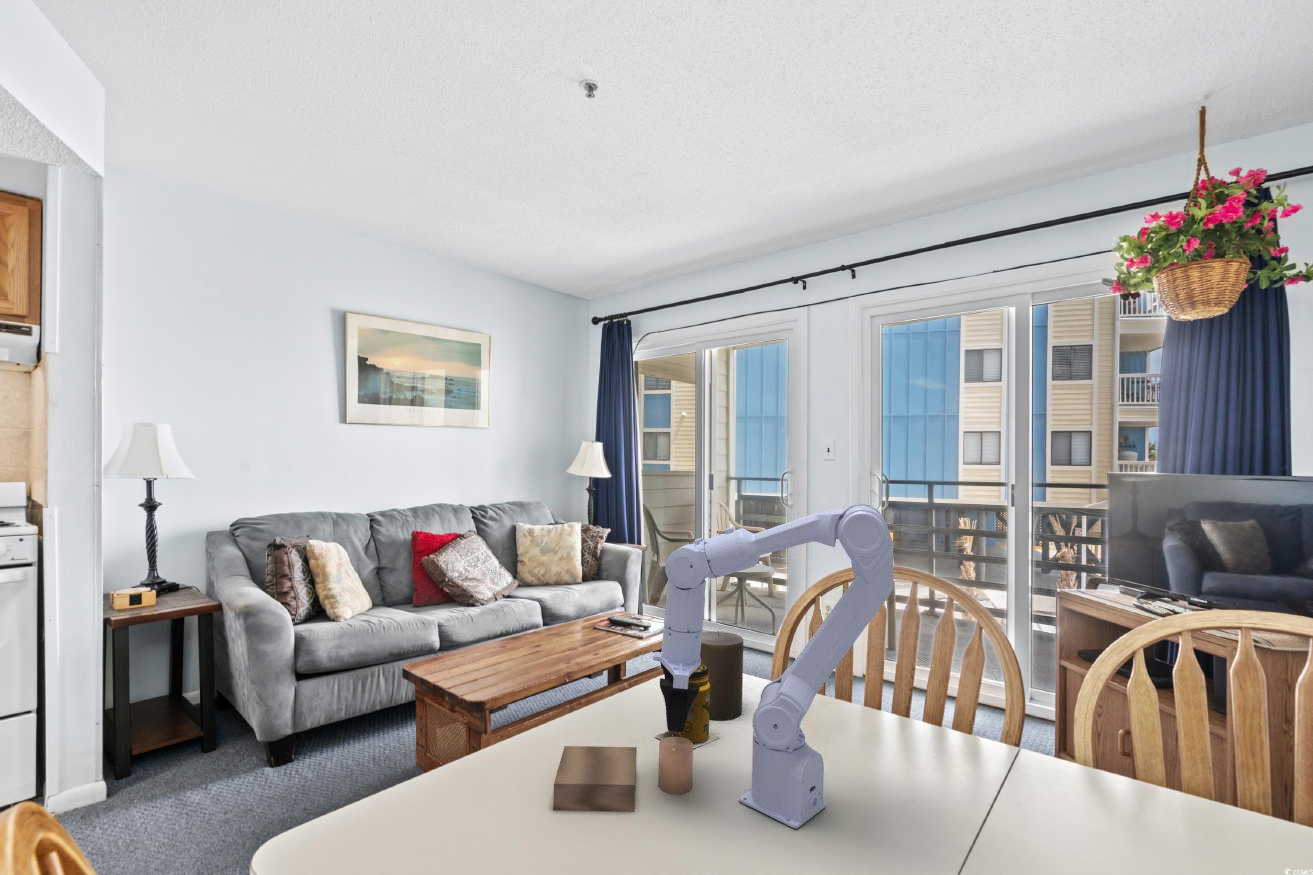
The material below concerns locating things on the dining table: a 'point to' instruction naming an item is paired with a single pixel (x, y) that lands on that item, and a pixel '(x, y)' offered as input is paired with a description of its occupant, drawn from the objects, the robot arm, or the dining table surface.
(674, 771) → the terracotta cylinder
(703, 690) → the condiment
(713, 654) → the pillar candle
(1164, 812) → the dining table surface
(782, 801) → the robot arm
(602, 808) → the walnut block
